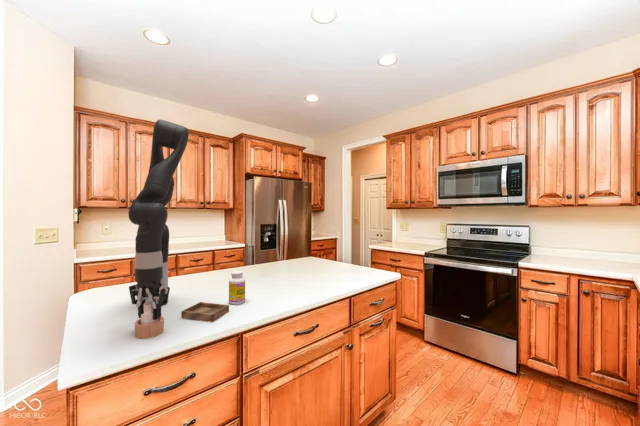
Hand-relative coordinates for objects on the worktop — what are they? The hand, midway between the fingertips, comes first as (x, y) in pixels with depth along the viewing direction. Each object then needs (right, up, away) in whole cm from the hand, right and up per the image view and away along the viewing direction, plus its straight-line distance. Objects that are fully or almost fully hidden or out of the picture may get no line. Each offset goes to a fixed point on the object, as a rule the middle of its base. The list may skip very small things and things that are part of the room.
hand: (149, 318), depth 86 cm
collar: (0, -5, 0) cm, 5 cm away
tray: (+12, -4, +15) cm, 19 cm away
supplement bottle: (+19, -4, +28) cm, 35 cm away
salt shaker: (0, -5, 0) cm, 5 cm away
